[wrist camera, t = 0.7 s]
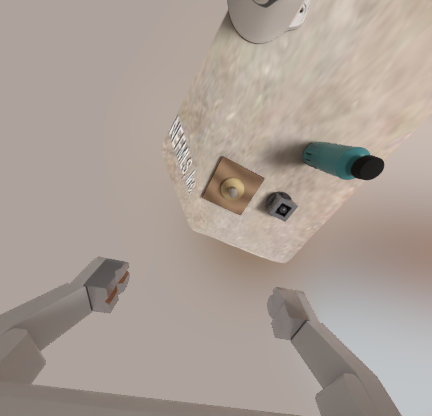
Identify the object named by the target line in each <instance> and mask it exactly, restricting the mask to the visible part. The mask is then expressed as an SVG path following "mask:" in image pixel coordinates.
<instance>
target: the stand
mask: <svg viewBox="0 0 432 416" xmlns="http://www.w3.org/2000/svg"><path fill="white" fill-rule="evenodd" d="M276 193H279V194H280V195H282V196H284V197H286V198H288V199H290V200H291V197H290V196H289V195H288V194H286V193H284V192H276ZM276 193H274V194H272V195H271V196H269V198H268V199H267V201H266V207H267V206H268V204H269V203H270V202H271V200H272V199H273V197H274V196H275V195H276ZM277 210H279V211H280V212H281V213H286V212H287V208H286V207H285V204H283V203H282V204H281V205H280V206H279V208H278V209H277Z"/></svg>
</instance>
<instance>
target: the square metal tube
mask: <svg viewBox="0 0 432 416" xmlns="http://www.w3.org/2000/svg"><path fill="white" fill-rule="evenodd" d="M282 203H283V204H285V207H286V208H287V212H286V213H281V212H280V211H279V210H277V209H278V208H279V206H280V205H281V204H282ZM297 207H298V206H297V205H296V204H295V203H294V202H293V201H292V200H290V199H288V198H286V197H284V196H282V195H280V194H279V193H276V195H275V196H274V197H273V199H272V200H271V202H270V203H269V204H268V206H267V207H266V209H267V211H268V213H269V214H270V215H272V216H274V217H277V218H279V219H281V220H283V221H286V220H287V219H288V218H289V217H290V215H291V214H292V213H293V212H294V211H295V209H296V208H297Z"/></svg>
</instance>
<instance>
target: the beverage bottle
mask: <svg viewBox="0 0 432 416" xmlns="http://www.w3.org/2000/svg"><path fill="white" fill-rule="evenodd" d="M303 159H304V161H305V163H306V164H308V166H311V167H314V168H315V169H316V168H317V169H320V171H324V172H326V173H329V174H332V175H333V176H337V177H339V178H341V179H344V180H350V179H354V178H358V179H363V180H371V179H374V178H375V177H377V176H378V175H379V174H380V173H381V172H382V171H383V169H384V161H383V160H382V159H380V158H378V157H375V156H372V155H370V153H369V152H368V150H366V149H365V148H362V147H352V146H344V145H337V143H336V144H334V143H332V144H331V143H329V142H328V143H326V142H325V143H324V142H315V143H312V144H311V145H309V146H308V147H307V148H306V149H305V151H304V154H303Z"/></svg>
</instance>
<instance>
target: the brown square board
mask: <svg viewBox="0 0 432 416" xmlns="http://www.w3.org/2000/svg"><path fill="white" fill-rule="evenodd" d="M263 181H264V178H263V177H261V176H259V175H257V174H256V173H254V172H252V171H250V170H248V169H246V168H244V167H242V166H240V165H238V164H237V163H235V162H233V161H231V160H229V159H227V158H225V157H222V159H221V161H220V163H219V165H218V167H217V169H216V171H215V173H214V175H213V177H212V179H211V181H210V183H209V185H208V187H207V189H206V191H205V193H204V195H203V198H204V199H206V200H208V201H211V202H213V203H215V204H217V205H219V206H221V207H223V208H226V209H228V210H230V211H232V212H234V213H236V214H239V215H241V214H242V213H243V211H244V210H245V208H246V207H247V205H248V204H249V202H250V200H251V199H252V197H253V196H254V194H255V193H256V191H257V190H258V188H259V187H260V185H261V184H262V182H263Z"/></svg>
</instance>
